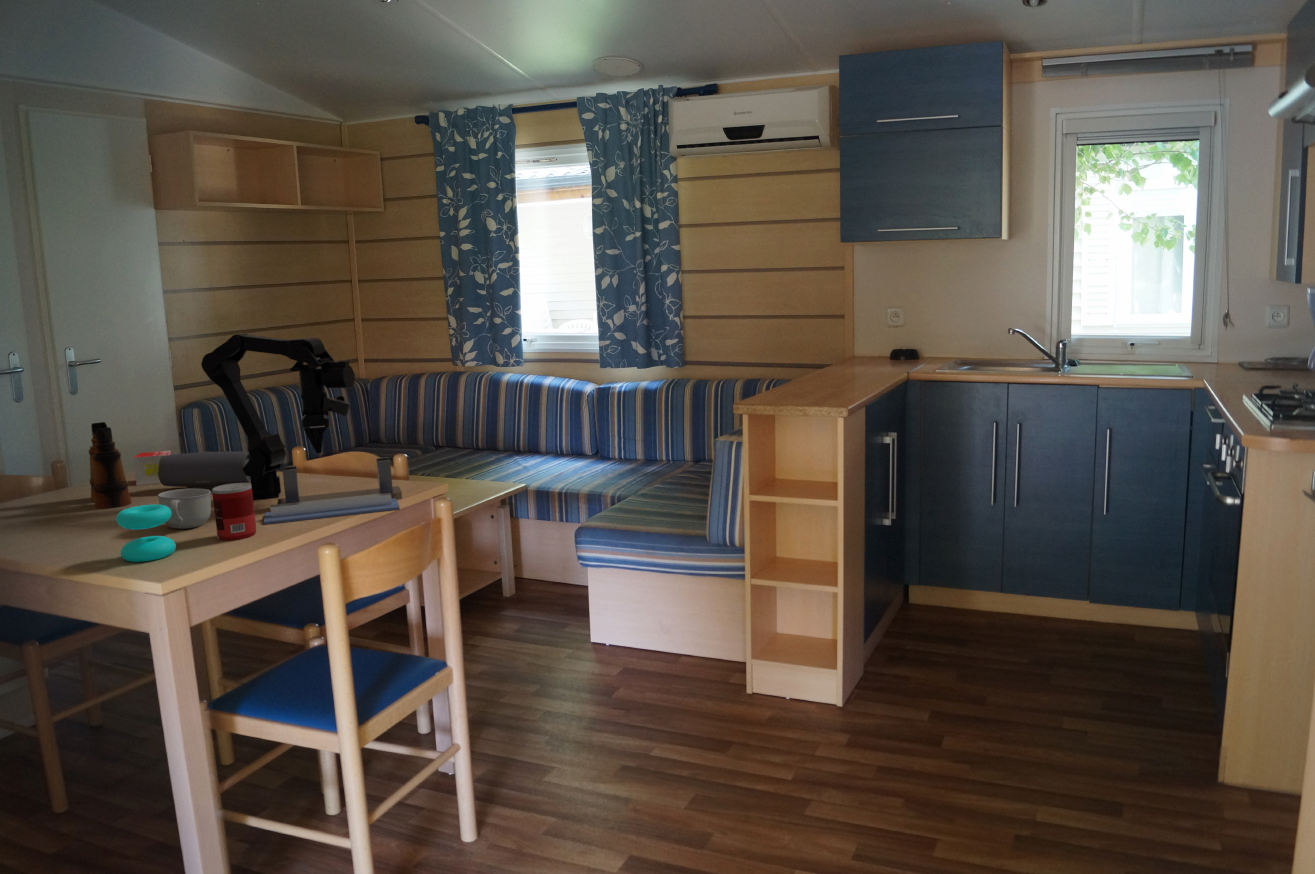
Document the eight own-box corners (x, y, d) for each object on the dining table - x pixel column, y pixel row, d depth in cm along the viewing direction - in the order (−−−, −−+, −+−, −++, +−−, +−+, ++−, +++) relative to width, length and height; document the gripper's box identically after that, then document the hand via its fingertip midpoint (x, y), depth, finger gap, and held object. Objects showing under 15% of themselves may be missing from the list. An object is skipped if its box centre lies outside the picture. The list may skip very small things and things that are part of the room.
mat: (263, 524, 222) (263, 522, 222) (265, 514, 232) (265, 512, 232) (399, 509, 232) (399, 506, 232) (396, 500, 241) (396, 498, 241)
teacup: (177, 520, 230) (173, 487, 228) (222, 519, 229) (218, 485, 228) (145, 536, 216) (140, 501, 215) (193, 535, 216) (188, 499, 214)
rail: (271, 517, 226) (270, 507, 226) (271, 515, 229) (270, 505, 228) (391, 504, 235) (391, 494, 234) (391, 502, 237) (390, 492, 237)
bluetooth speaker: (258, 482, 270) (254, 447, 268) (245, 490, 261) (241, 453, 259) (175, 486, 269) (171, 450, 268) (159, 494, 260) (154, 457, 258)
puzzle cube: (136, 485, 273) (132, 457, 272) (143, 479, 281) (140, 452, 279) (167, 482, 275) (164, 455, 274) (174, 477, 282) (170, 450, 281)
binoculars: (89, 498, 258) (79, 423, 255) (124, 493, 263) (114, 419, 260) (96, 510, 243) (85, 431, 240) (133, 505, 248) (123, 427, 245)
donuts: (181, 503, 202) (147, 515, 192) (187, 549, 204) (153, 564, 194) (139, 502, 204) (103, 514, 194) (145, 549, 206) (110, 563, 196)
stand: (277, 511, 234) (273, 472, 233) (278, 504, 242) (274, 466, 240) (402, 498, 243) (398, 460, 242) (399, 491, 251) (396, 455, 249)
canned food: (264, 532, 216) (259, 483, 214) (238, 541, 208) (232, 491, 207) (236, 530, 218) (230, 482, 216) (209, 540, 211) (203, 490, 209)
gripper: (347, 390, 238) (353, 453, 241) (345, 382, 255) (351, 441, 258) (299, 393, 235) (305, 457, 237) (300, 386, 252) (306, 445, 255)
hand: (318, 450), depth 247 cm, fingers open, 9 cm apart
